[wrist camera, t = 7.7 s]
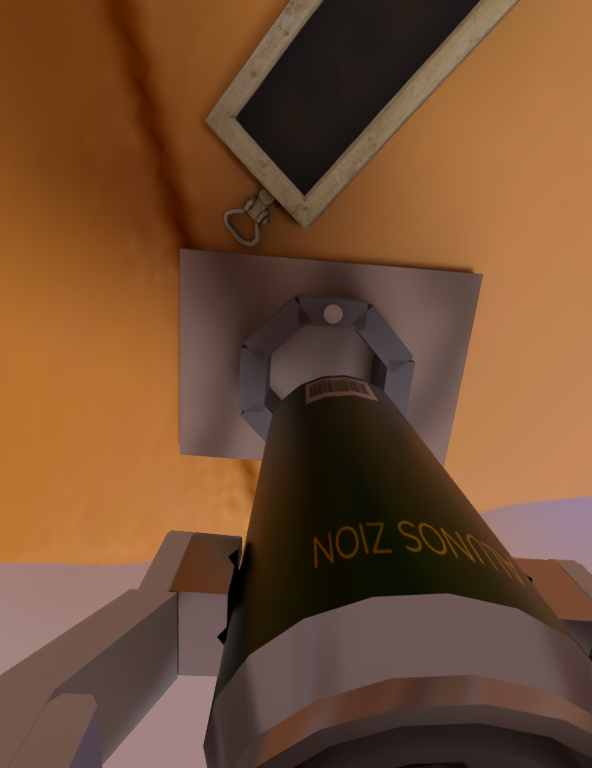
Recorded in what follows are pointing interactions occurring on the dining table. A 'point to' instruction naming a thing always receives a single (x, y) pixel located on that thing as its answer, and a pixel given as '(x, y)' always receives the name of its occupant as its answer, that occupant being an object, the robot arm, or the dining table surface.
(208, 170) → the dining table surface
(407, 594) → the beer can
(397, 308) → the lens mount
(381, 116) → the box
